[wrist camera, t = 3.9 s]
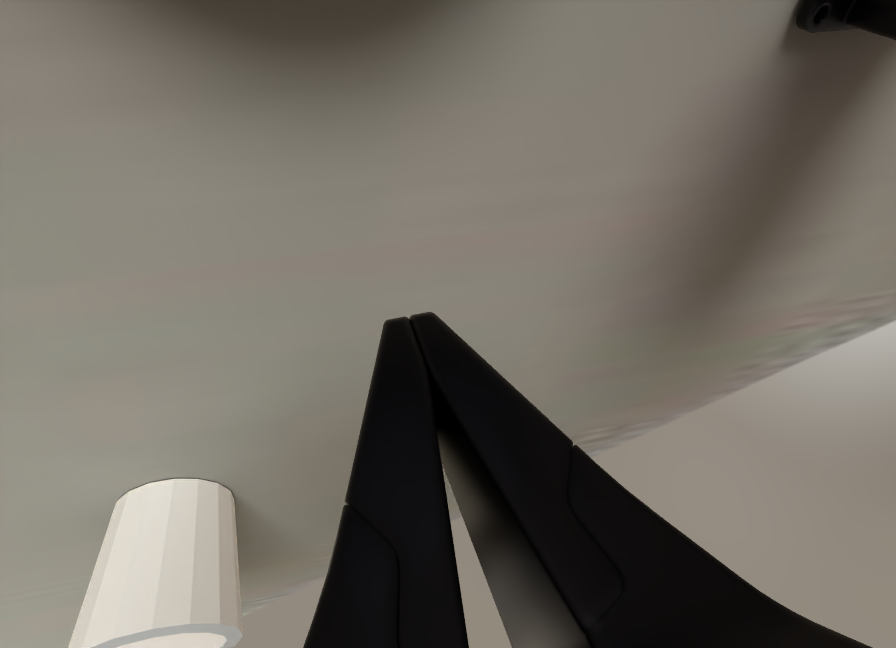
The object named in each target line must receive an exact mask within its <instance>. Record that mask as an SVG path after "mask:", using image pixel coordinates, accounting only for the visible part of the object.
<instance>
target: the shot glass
mask: <svg viewBox="0 0 896 648" xmlns="http://www.w3.org/2000/svg"><path fill="white" fill-rule="evenodd" d="M242 636H243V627H242V611H241V596H240V581H239V566H238V551H237V535H236V520H235V505H234V498H233V496H232V493H231V491H230V490H229V489H227V488H225V487H224V486H222V485H220V484H219V483H215V482H210V481H206V480H201V479H170V480H164V481H158V482H152V483H148V484H146V485H143V486H141V487H138V488H135V489H133V490H130V491H128V492H127V493H126V494H125V495H124V496H122V497H121V498H120V499H119V500H118V501H117V502H116V505H115V508H114V511H113V514H112V517H111V520H110V523H109V526H108V529H107V532H106V535H105V538H104V541H103V544H102V547H101V550H100V553H99V556H98V559H97V562H96V565H95V568H94V571H93V574H92V577H91V580H90V583H89V586H88V589H87V592H86V595H85V598H84V601H83V604H82V608H81V611H80V614H79V617H78V620H77V623H76V626H75V629H74V632H73V635H72V638H71V641H70V644H69V647H68V648H232V647H233V646H235V645H236V644H237V643H238V641H239V640H240V639H241V638H242Z"/></svg>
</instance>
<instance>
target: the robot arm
mask: <svg viewBox="0 0 896 648" xmlns="http://www.w3.org/2000/svg"><path fill="white" fill-rule="evenodd" d="M817 11H818V12H817ZM816 12H817V13H816ZM815 14H816V15H815ZM796 25H797V27H798V28H799V29H802V30H805V31H808V32H812V33H815V32H826V31H837V30H848V29H862V30H865V31H869V32H872V33H875V34H878V35H881V36H885V37H888V38H891V39H894V40H896V0H804V2H803V4H802V6H801V9H800V11H799V13H798V16H797V19H796ZM441 461H442V462H441ZM442 464H443V467H444V469H445V472H446V475H447V477H448V480H449V483H450V485H451V488H452V490H453V493H454V496H455V498H456V501H457V504H458V506H459V509H460V512H461V514H462V517H463V519H464V522H465V525H466V527H467V530H468V532H469V535H470V538H471V541H472V543H473V546H474V548H475V551H476V553H477V556H478V559H479V561H480V564H481V567H482V569H483V572H484V575H485V577H486V580H487V583H488V585H489V588H490V590H491V593H492V596H493V599H494V601H495V604H496V606H497V609H498V612H499V614H500V617H501V619H502V622H503V625H504V627H505V630H506V632H507V635H508V638H509V641H510V643H511V646H512V648H872V647H870V646H867V645H865V644H863V643H860V642H858V641H856V640H854V639H851V638H849V637H847V636H844V635H842V634H840V633H837V632H835V631H833V630H831V629H828V628H826V627H824V626H821V625H819V624H817V623H815V622H813V621H811V620H809V619H807V618H805V617H803V616H801V615H799V614H797V613H795V612H793V611H791V610H790V609H788V608H786V607H784V606H783V605H781V604H779V603H778V602H776V601H774V600H773V599H771V598H769V597H768V596H766V595H765V594H763V593H762V592H760V591H759V590H757V589H756V588H754V587H753V586H752V585H750V584H749V583H748V582H746V581H745V580H744V579H742V578H741V577H739V576H738V575H737V574H735V573H734V572H733V571H731V570H730V569H729V568H728V567H726V566H725V565H724V564H722V563H721V562H720V561H718V560H717V559H716V558H714V557H713V556H712V555H711V554H709V553H708V552H707V551H705V550H704V549H703V548H701V547H700V546H699V545H697V544H696V543H695V542H693V541H692V540H691V539H689V538H688V537H687V536H686V535H684V534H683V533H682V532H680V531H679V530H678V529H676V528H675V527H674V526H672V525H671V524H670V523H668V522H667V521H666V520H664V519H663V518H662V517H660V516H659V515H658V514H657V513H655V512H654V511H653V510H651V509H650V508H649V507H648V506H647V505H645V504H644V503H643V502H641V501H640V500H639V499H638V498H636V497H635V496H634V495H633V494H631V493H630V492H629V491H628V490H626V489H625V488H624V487H623V486H622V485H620V484H619V483H618V482H617V481H616V480H615V479H613V478H612V477H611V476H610V475H609V474H608V473H607V472H606V471H604V470H603V469H602V468H601V467H600V466H599V465H598V464H596V463H595V462H594V461H593V460H592V459H591V458H590V457H589V456H588V455H587V454H586V453H585V452H584V451H583V450H581V449H580V448H579V447H578V446H577V445H574V446H573V442H572V441H571V440H570V439H569V438H568V437H567V436H566V435H565V434H564V433H563V432H562V431H561V430H560V429H559V428H557V427H556V426H555V425H554V424H553V423H552V422H551V421H550V420H549V419H548V418H547V417H546V416H545V415H543V414H542V413H541V412H540V411H539V410H538V409H537V408H536V407H535V406H534V405H533V404H532V403H530V402H529V401H528V400H527V399H526V398H525V397H524V396H523V395H522V394H521V393H520V392H519V391H518V390H516V389H515V388H514V387H513V386H512V385H511V384H510V383H509V382H508V381H507V380H506V379H505V378H503V377H502V376H501V375H500V374H499V373H498V372H497V371H496V370H495V369H494V368H493V367H492V366H491V365H489V364H488V363H487V362H486V361H485V360H484V359H483V358H482V357H481V356H480V355H479V354H478V353H476V352H475V351H474V350H473V349H472V348H471V347H470V346H469V345H468V344H467V343H466V342H465V341H464V340H462V339H461V338H460V337H459V336H458V335H457V334H456V333H455V332H454V331H453V330H452V329H451V328H450V327H448V326H447V325H446V324H445V323H444V322H443V321H442V320H441V319H440V318H439V317H438V316H437V315H435V314H434V313H432V312H426V313H421V314H416V315H412V316H411V317H410V318H409V319H408V318H407V317H400V318H395V319H390V320H386V321H385V323H384V326H383V330H382V335H381V339H380V344H379V348H378V353H377V358H376V362H375V367H374V371H373V376H372V380H371V385H370V389H369V394H368V399H367V403H366V408H365V412H364V417H363V421H362V426H361V430H360V435H359V440H358V444H357V449H356V453H355V458H354V462H353V467H352V471H351V476H350V481H349V485H348V490H347V494H346V499H345V503H346V505H345V506H344V507H343V511H342V516H341V520H340V525H339V529H338V533H337V537H336V541H335V545H334V549H333V553H332V557H331V561H330V565H329V569H328V573H327V576H326V579H325V583H324V586H323V589H322V592H321V596H320V599H319V602H318V605H317V608H316V612H315V615H314V618H313V621H312V624H311V627H310V630H309V632H308V636H307V638H306V641H305V644H304V647H303V648H469V645H468V639H467V632H466V625H465V618H464V612H463V604H462V598H461V591H460V584H459V577H458V571H457V564H456V557H455V551H454V544H453V537H452V531H451V523H450V516H449V510H448V503H447V496H446V489H445V482H444V476H443V469H442Z"/></svg>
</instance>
